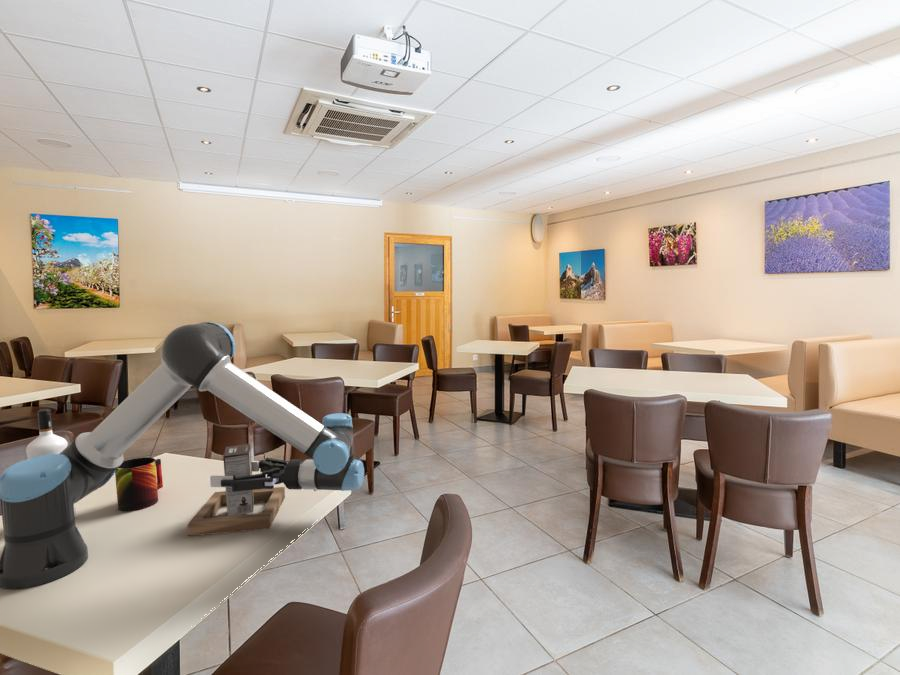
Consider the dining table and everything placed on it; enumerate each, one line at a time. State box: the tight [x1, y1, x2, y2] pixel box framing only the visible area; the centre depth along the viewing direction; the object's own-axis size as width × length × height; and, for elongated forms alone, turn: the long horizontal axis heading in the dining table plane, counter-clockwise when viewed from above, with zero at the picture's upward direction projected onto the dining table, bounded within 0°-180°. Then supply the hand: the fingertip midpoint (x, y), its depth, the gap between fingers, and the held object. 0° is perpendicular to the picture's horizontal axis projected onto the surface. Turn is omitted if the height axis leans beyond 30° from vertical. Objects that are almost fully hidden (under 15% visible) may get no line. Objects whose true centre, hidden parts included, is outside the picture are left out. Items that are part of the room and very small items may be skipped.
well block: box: [187, 486, 286, 536], centre depth 130 cm, size 20×19×3 cm
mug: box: [114, 457, 164, 513], centre depth 140 cm, size 10×14×12 cm
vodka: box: [25, 408, 77, 517], centre depth 127 cm, size 9×9×30 cm
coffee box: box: [222, 443, 255, 516], centre depth 129 cm, size 9×6×16 cm
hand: (224, 473), depth 130 cm, fingers closed on coffee box, 11 cm apart
